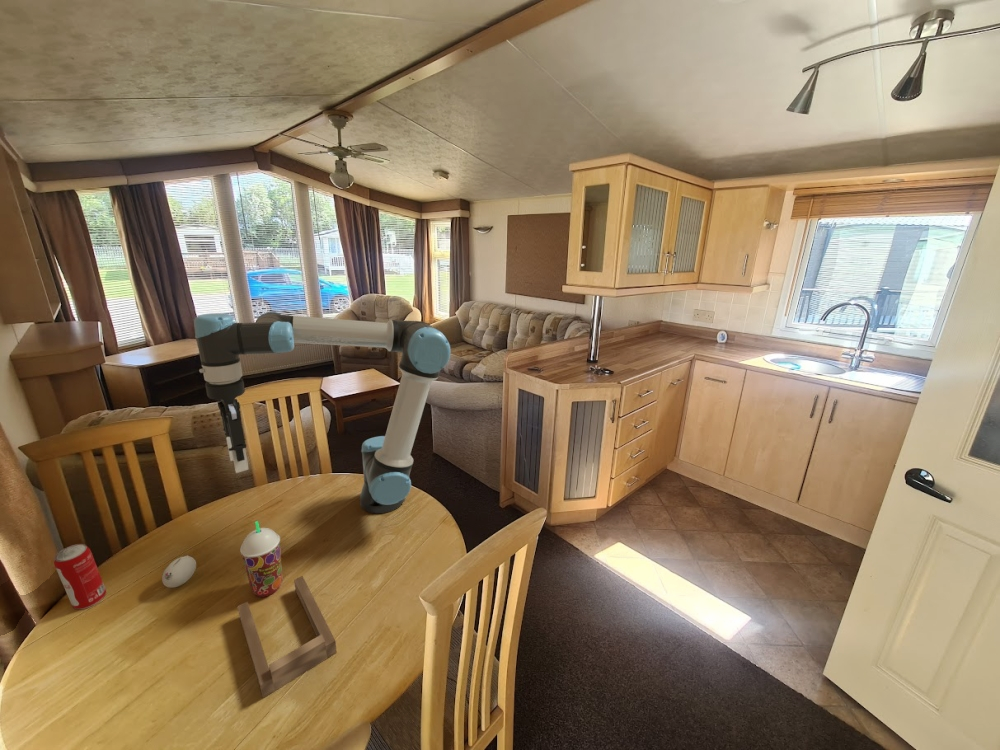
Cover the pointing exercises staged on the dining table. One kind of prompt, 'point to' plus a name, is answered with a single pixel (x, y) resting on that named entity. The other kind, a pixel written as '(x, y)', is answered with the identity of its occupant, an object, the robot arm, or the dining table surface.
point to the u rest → (297, 659)
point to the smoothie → (262, 560)
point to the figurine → (179, 571)
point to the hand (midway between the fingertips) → (239, 464)
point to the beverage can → (80, 576)
